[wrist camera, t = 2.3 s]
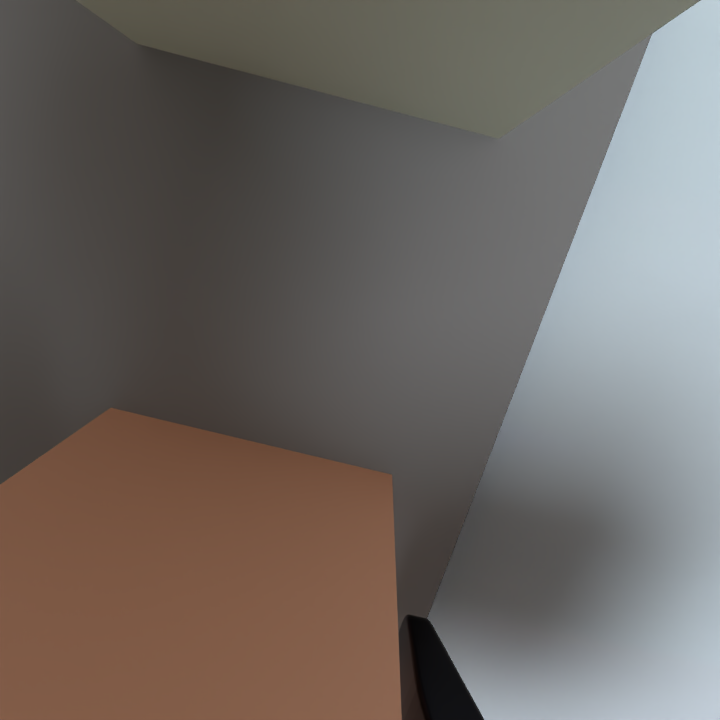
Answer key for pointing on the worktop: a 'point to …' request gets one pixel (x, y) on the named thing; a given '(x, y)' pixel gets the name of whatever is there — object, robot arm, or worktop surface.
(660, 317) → the worktop surface
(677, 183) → the worktop surface
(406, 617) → the robot arm
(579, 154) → the slate mat
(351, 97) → the sage block
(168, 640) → the terracotta block
